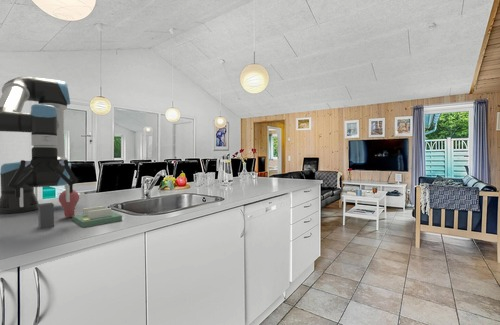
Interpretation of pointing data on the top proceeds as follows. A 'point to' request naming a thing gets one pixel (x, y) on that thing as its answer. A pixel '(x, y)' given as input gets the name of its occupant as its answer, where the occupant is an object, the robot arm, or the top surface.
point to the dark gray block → (46, 215)
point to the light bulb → (69, 203)
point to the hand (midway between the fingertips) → (45, 204)
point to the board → (96, 216)
